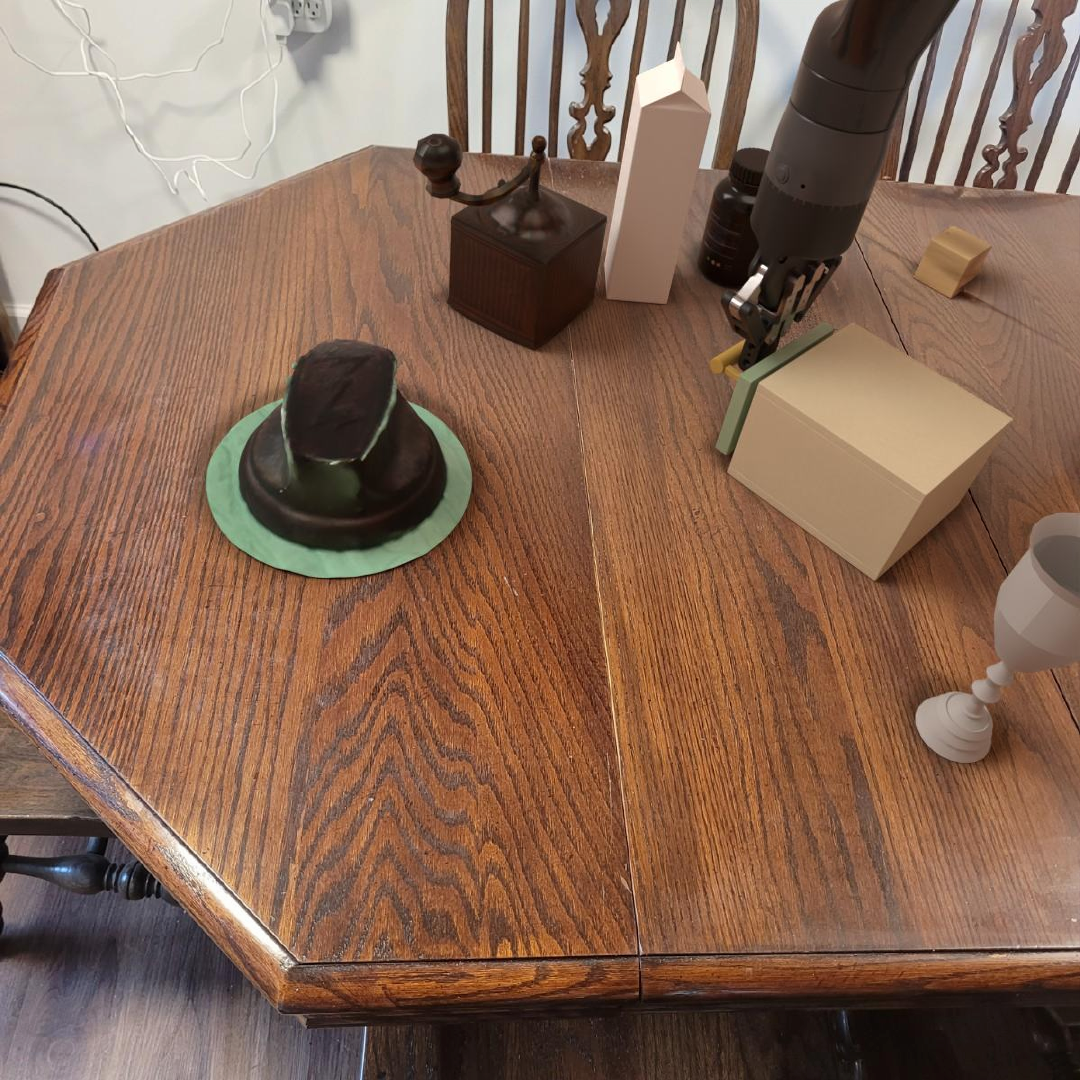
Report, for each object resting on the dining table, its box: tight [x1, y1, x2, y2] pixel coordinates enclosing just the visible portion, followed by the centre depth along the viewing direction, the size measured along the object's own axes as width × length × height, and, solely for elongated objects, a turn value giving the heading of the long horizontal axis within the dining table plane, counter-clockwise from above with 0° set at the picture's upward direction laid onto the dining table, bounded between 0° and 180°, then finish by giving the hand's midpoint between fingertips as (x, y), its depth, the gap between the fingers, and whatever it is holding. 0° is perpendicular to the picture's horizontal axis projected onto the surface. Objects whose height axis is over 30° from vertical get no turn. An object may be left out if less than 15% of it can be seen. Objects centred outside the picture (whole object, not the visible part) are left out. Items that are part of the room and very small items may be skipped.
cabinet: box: [727, 321, 1013, 582], centre depth 74 cm, size 15×13×10 cm
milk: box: [603, 41, 712, 305], centre depth 85 cm, size 6×6×22 cm
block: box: [913, 225, 993, 299], centre depth 98 cm, size 5×5×5 cm
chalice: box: [915, 512, 1080, 764], centre depth 56 cm, size 7×7×18 cm
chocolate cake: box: [205, 338, 473, 579], centre depth 71 cm, size 15×19×20 cm
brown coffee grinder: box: [412, 133, 608, 350], centre depth 81 cm, size 16×11×18 cm
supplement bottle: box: [697, 146, 770, 288], centre depth 92 cm, size 7×7×12 cm
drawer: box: [709, 320, 836, 456], centre depth 76 cm, size 18×11×8 cm, turn 43°
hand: (752, 369), depth 78 cm, fingers closed
